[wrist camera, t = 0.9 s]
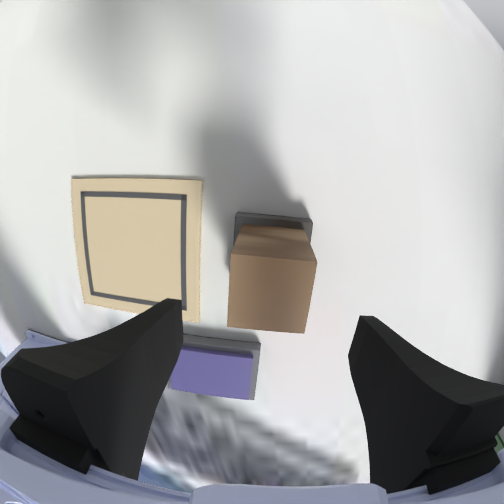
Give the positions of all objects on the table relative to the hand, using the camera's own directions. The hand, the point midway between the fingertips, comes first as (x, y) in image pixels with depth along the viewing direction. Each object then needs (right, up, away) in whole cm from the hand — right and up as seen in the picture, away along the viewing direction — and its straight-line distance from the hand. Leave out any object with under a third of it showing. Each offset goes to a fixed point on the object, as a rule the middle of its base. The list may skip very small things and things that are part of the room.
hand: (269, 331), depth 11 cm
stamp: (+1, +3, +9) cm, 10 cm away
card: (-10, +3, +10) cm, 14 cm away
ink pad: (-4, -7, +13) cm, 15 cm away
